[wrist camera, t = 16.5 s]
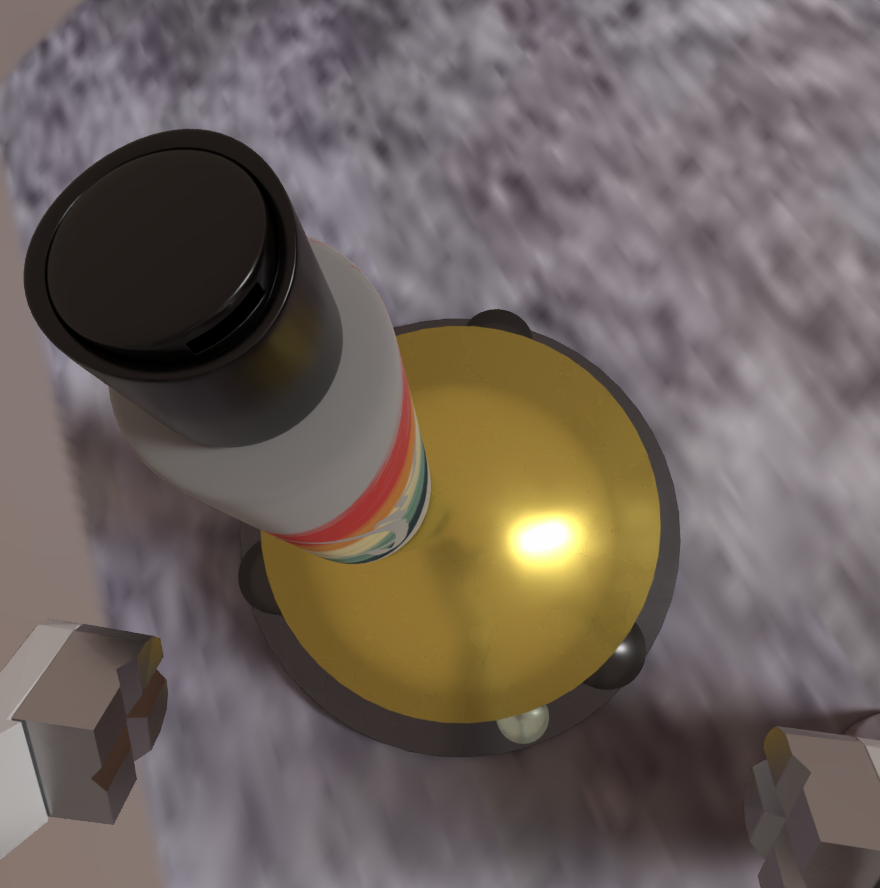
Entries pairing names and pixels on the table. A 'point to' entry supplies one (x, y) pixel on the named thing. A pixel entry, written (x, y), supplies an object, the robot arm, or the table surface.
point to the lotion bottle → (234, 344)
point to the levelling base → (488, 556)
